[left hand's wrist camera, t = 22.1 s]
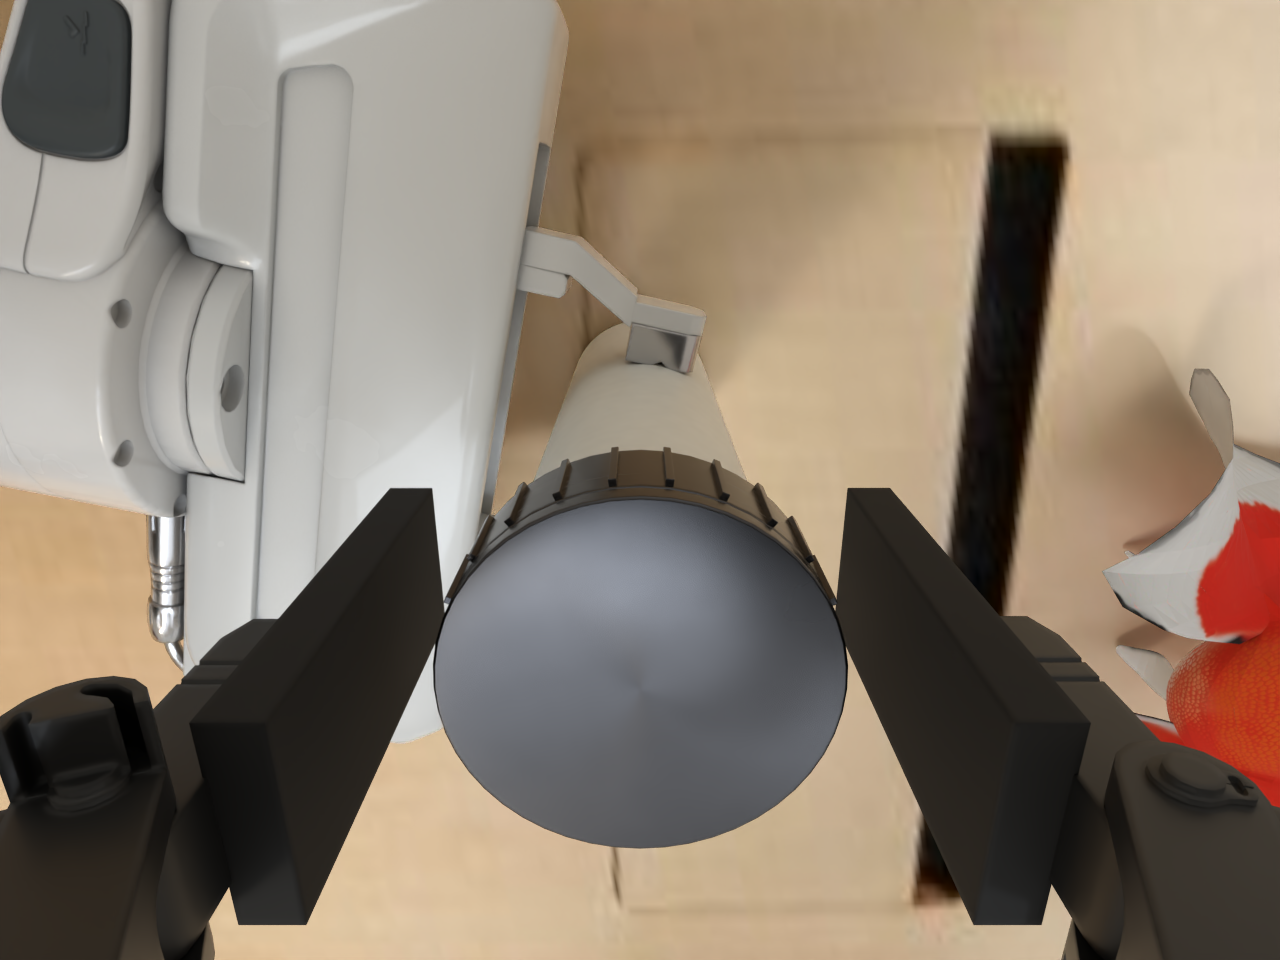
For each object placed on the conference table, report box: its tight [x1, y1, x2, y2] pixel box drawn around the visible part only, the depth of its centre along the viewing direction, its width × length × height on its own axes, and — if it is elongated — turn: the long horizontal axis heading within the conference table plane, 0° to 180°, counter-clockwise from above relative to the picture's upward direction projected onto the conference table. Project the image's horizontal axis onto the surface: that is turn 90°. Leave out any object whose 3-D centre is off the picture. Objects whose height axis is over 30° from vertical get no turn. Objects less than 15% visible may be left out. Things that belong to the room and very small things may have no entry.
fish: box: [1102, 369, 1280, 807], centre depth 25 cm, size 11×16×10 cm
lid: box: [433, 447, 848, 848], centre depth 11 cm, size 6×6×2 cm
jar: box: [534, 323, 747, 481], centre depth 19 cm, size 5×5×17 cm
